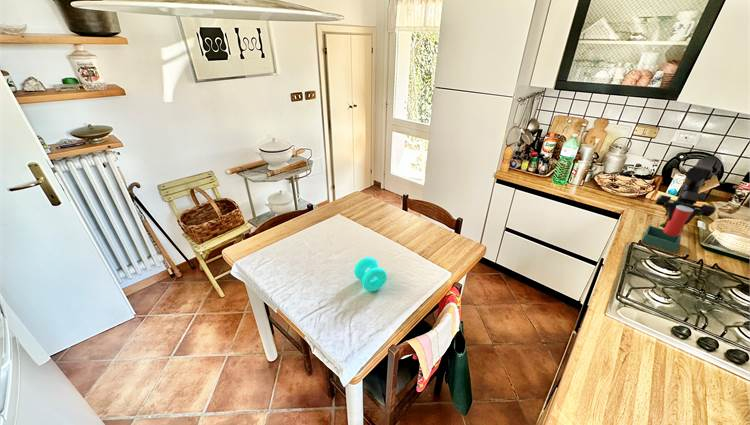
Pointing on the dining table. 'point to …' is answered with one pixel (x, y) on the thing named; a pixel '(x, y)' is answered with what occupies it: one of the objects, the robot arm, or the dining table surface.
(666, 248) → the bin
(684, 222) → the chip canister
